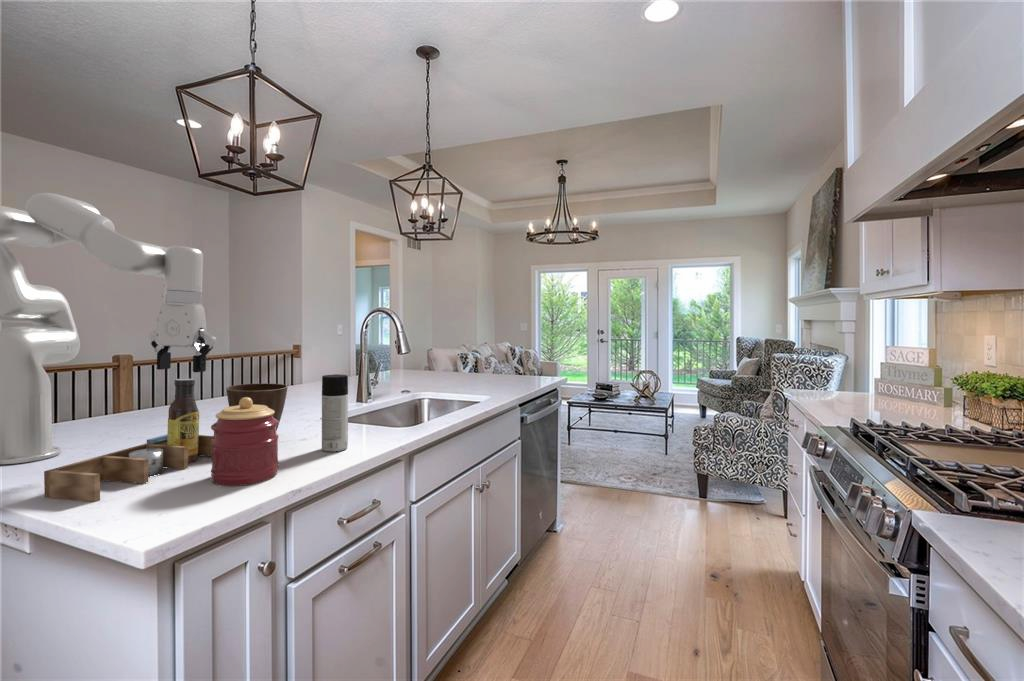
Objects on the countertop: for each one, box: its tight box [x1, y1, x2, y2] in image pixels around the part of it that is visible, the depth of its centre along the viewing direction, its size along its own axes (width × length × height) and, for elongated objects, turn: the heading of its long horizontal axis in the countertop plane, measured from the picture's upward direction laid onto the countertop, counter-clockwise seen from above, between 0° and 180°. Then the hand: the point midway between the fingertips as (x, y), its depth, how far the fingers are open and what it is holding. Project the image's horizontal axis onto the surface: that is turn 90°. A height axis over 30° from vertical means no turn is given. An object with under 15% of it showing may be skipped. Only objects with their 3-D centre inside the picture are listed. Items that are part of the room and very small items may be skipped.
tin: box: [129, 448, 164, 478], centre depth 104 cm, size 6×6×5 cm
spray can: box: [321, 373, 349, 453], centre depth 127 cm, size 7×7×20 cm
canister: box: [210, 397, 280, 487], centre depth 104 cm, size 13×13×18 cm
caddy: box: [43, 434, 214, 503], centre depth 105 cm, size 11×31×6 cm, turn 171°
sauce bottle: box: [166, 378, 200, 463], centre depth 114 cm, size 6×6×20 cm
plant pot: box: [225, 382, 288, 432], centre depth 131 cm, size 15×15×16 cm
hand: (181, 370), depth 114 cm, fingers open, 9 cm apart
